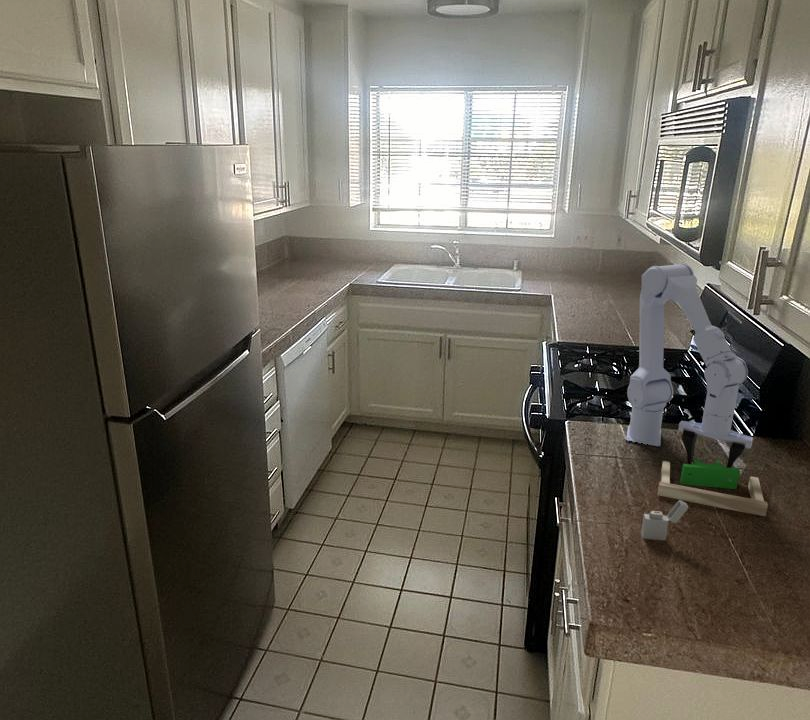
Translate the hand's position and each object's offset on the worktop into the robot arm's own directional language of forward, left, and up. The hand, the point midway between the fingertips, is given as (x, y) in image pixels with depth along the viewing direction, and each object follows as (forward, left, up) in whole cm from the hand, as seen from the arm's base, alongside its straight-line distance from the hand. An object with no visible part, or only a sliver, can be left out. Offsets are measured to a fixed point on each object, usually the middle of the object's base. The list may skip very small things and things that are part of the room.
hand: (708, 467), depth 136 cm
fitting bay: (+7, 0, -2) cm, 8 cm away
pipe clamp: (+4, 0, -2) cm, 5 cm away
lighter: (+29, -9, -2) cm, 31 cm away
